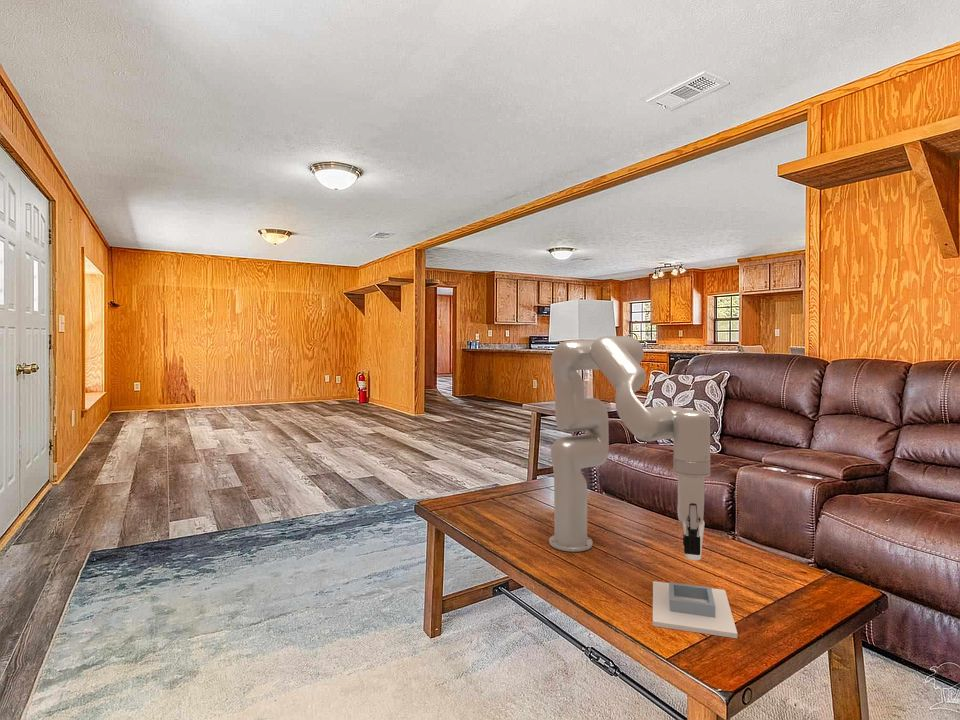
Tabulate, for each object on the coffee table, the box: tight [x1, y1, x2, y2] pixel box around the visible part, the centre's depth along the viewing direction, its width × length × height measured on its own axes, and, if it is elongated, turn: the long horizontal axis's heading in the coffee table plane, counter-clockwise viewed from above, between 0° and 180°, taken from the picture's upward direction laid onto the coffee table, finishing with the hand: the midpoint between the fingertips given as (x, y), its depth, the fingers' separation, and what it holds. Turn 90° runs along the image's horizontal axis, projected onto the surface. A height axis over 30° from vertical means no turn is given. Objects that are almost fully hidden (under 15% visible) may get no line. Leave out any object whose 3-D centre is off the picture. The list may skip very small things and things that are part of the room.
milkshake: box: [681, 518, 705, 561], centre depth 118 cm, size 5×5×10 cm
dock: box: [652, 580, 738, 640], centre depth 118 cm, size 20×16×4 cm
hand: (691, 549), depth 118 cm, fingers closed on milkshake, 4 cm apart
